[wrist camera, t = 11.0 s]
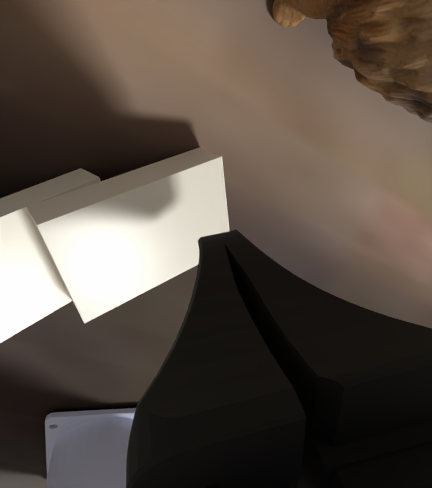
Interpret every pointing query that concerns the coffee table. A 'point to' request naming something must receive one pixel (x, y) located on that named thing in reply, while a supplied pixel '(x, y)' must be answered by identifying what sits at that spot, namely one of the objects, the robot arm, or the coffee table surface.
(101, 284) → the tile
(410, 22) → the lion figurine
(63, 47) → the coffee table surface
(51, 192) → the tile
